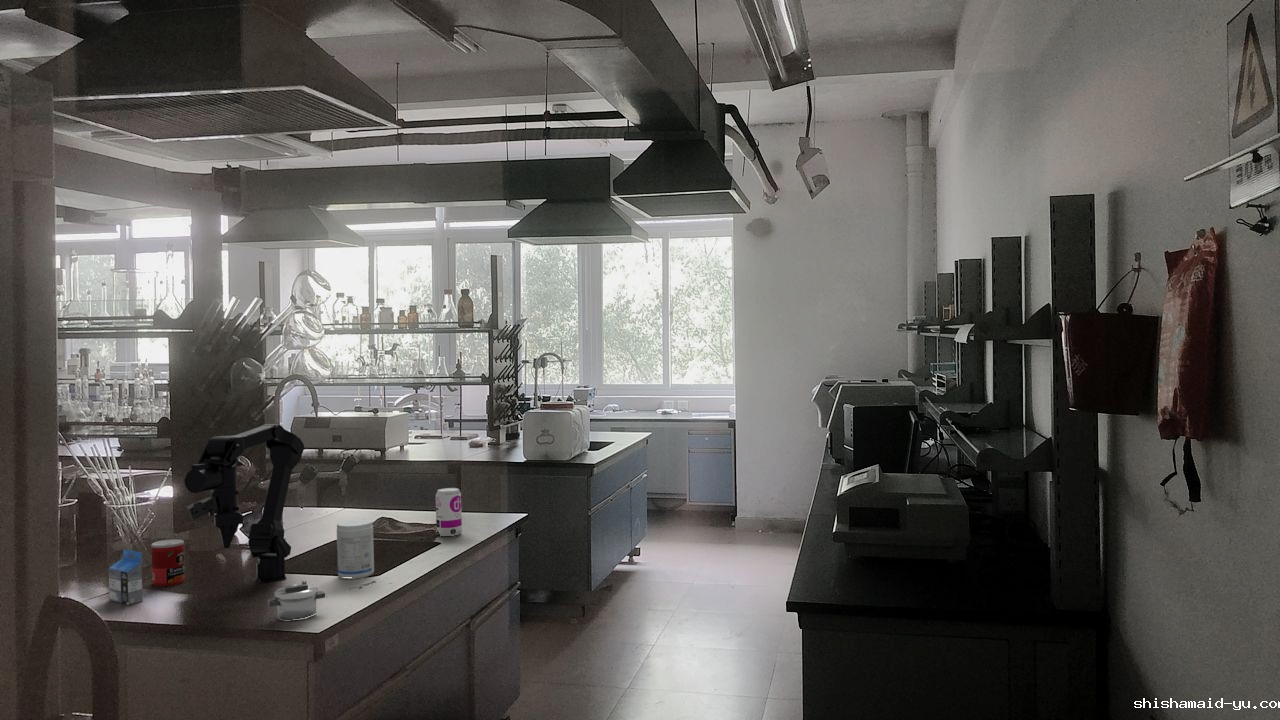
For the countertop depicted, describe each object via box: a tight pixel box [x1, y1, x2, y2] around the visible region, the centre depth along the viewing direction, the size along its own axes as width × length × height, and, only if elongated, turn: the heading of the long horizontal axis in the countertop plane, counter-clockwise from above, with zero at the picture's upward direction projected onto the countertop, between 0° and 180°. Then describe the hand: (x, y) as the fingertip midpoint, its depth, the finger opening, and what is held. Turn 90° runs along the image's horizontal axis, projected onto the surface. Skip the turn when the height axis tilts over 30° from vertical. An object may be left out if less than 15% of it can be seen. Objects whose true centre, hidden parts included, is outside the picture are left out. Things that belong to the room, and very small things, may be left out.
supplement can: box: [435, 487, 463, 537], centre depth 281 cm, size 8×8×15 cm
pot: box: [267, 590, 326, 620], centre depth 198 cm, size 12×10×5 cm
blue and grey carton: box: [108, 548, 143, 606], centre depth 213 cm, size 9×4×12 cm, turn 59°
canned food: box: [150, 538, 186, 587], centre depth 229 cm, size 8×8×11 cm
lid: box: [274, 580, 319, 600], centre depth 198 cm, size 10×9×2 cm
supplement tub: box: [336, 518, 375, 580], centre depth 233 cm, size 10×10×15 cm
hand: (226, 548), depth 214 cm, fingers closed
